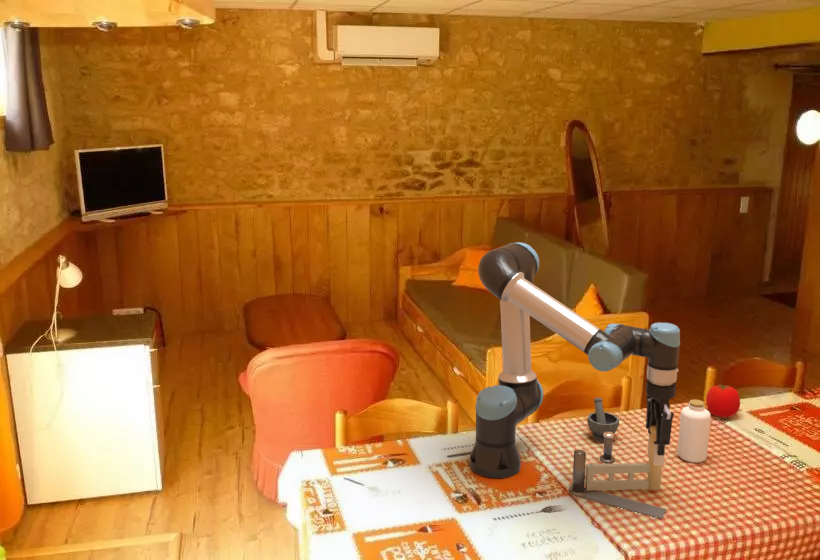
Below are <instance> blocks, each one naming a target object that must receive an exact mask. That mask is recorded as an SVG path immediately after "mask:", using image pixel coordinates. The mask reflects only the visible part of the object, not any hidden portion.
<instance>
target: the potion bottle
mask: <svg viewBox="0 0 820 560" xmlns="http://www.w3.org/2000/svg"><path fill="white" fill-rule="evenodd" d="M711 415H712V414H711V412H710V411H709V409H706V408H705V403H704V401H703V400H700V399H690V400H689V402H688V406H684V407H683V408H682V409H681V411H680V418H679V429H678V431H679V432H678V440H677V441H678V443H677V455H678V457H680V459H681V460H684V461H685V462H689V463H695V464H696V463H697V464H698V463H702V462H704V461H706V460H707V458H708V450H709V449H708V447H709V439H710V428H711V427H710V426H711V420H712V419H711V418H712V416H711Z"/></svg>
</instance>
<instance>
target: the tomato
mask: <svg viewBox="0 0 820 560" xmlns="http://www.w3.org/2000/svg"><path fill="white" fill-rule="evenodd" d="M705 399H706V401H705V402H706V403H705V404H706V407H707V410H708V411H709V412H710V414H711V415H713V416H714V417H718V418H721V419H725V418H731V417H734V416H735V415H737V413H738V411H739V410H740V407H741V398H740V394H739V392H738V390H737V389H736V388H734V387H732V386H731V385H730V384H729V385H724V384H723V385H722V384H720V383H718V385H714V386H711V387H710V388H709V390H708V391H707V393H706V397H705Z"/></svg>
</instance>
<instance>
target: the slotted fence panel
mask: <svg viewBox="0 0 820 560" xmlns="http://www.w3.org/2000/svg"><path fill="white" fill-rule="evenodd" d="M650 432H651V436H650V449H649V458H648V462H632V463H631V462H630V463H626V462H625V463H610V464H608V463H586V464H585V484H584V487H585V488H586V490H587V491H593V490H596V491H620V490H621V491H622V490H623V491H624V490H626V491H627V490H651V491H660V490H661V486H662V475H663V474H662V472H663V465H653V457H654V441H656V425H653V426H651V427H650ZM646 473H647V477H646V479H645V478H644V479H635V474H646ZM600 474H601V475H605V474H607V476H608V477H607V479H604V480H603V479H602V480H597V479H596V480H594V475H600ZM615 474H627V479H615Z"/></svg>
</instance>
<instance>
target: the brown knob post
mask: <svg viewBox="0 0 820 560" xmlns="http://www.w3.org/2000/svg"><path fill="white" fill-rule="evenodd" d="M586 460H587V452H586V451H585V450H583V449H575V450H574V451H573V465H572V466H573V467H572V485H570V486H568V494H570V495H571V496H573V497H577V498H579V497H578V496H582V495H586V494H587V493H588V491H587V490H586V488H585V484H586V464H587V462H586ZM572 494H573V495H572Z"/></svg>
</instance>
